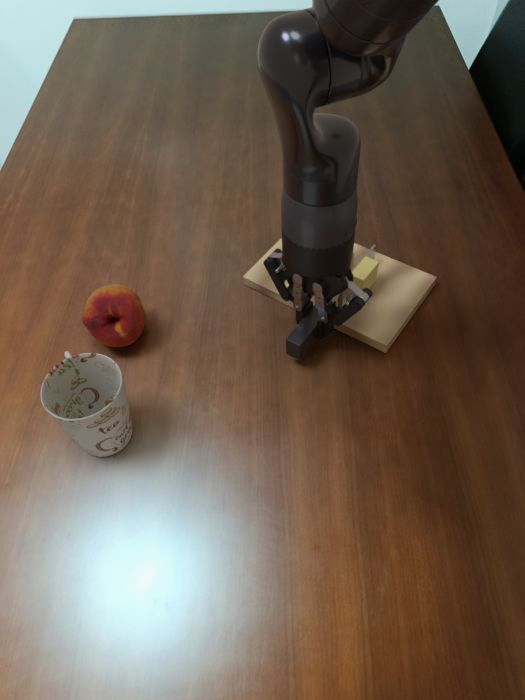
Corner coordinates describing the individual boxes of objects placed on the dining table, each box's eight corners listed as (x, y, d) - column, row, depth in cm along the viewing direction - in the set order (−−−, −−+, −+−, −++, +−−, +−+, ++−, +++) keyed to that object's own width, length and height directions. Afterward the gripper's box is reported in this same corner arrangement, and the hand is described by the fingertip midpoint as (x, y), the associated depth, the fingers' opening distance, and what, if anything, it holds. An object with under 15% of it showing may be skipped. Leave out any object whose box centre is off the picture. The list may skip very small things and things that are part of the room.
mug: (87, 480, 63) (57, 434, 55) (46, 401, 70) (14, 350, 62) (155, 441, 66) (136, 392, 58) (109, 368, 73) (86, 316, 65)
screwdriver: (299, 361, 70) (299, 345, 67) (285, 354, 71) (285, 338, 68) (379, 262, 79) (381, 246, 77) (366, 257, 80) (368, 240, 78)
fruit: (83, 356, 74) (63, 315, 68) (102, 309, 79) (85, 266, 73) (142, 361, 73) (128, 320, 67) (158, 313, 78) (146, 270, 72)
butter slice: (376, 280, 78) (379, 261, 75) (361, 299, 76) (363, 280, 73) (363, 275, 78) (365, 255, 76) (348, 293, 76) (350, 274, 74)
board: (435, 284, 79) (437, 276, 78) (385, 353, 72) (387, 345, 71) (298, 227, 87) (298, 219, 86) (243, 284, 80) (242, 276, 79)
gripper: (241, 217, 60) (252, 326, 73) (360, 269, 54) (347, 376, 68) (282, 179, 63) (285, 290, 77) (397, 224, 58) (378, 334, 72)
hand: (314, 330), depth 72 cm, fingers closed on screwdriver, 2 cm apart
